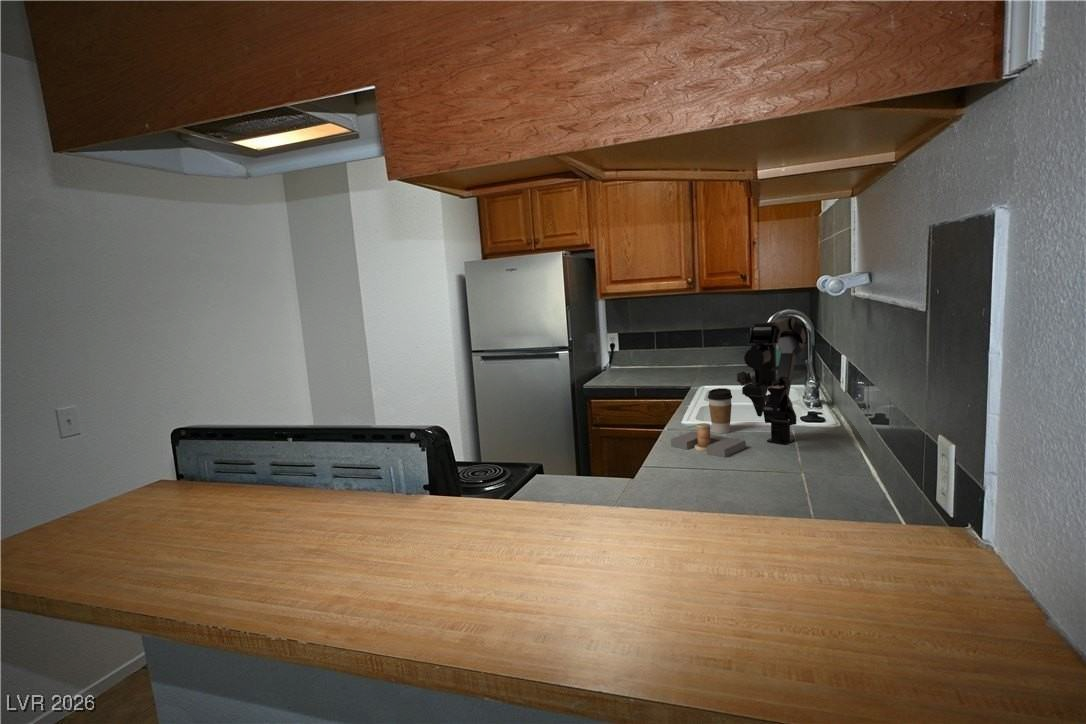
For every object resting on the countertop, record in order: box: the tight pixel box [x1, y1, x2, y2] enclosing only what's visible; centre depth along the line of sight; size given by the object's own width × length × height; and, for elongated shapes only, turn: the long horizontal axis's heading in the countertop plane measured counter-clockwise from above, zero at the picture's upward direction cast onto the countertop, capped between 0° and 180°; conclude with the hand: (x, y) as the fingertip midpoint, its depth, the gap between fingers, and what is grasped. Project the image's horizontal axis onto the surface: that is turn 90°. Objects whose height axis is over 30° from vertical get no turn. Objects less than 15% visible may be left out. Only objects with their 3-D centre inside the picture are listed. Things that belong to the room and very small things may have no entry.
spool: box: [694, 422, 711, 453], centre depth 179 cm, size 6×6×8 cm
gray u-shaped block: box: [670, 431, 747, 458], centre depth 181 cm, size 12×20×2 cm, turn 40°
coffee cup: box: [707, 387, 733, 435], centre depth 198 cm, size 8×8×15 cm
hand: (767, 413), depth 171 cm, fingers open, 9 cm apart
